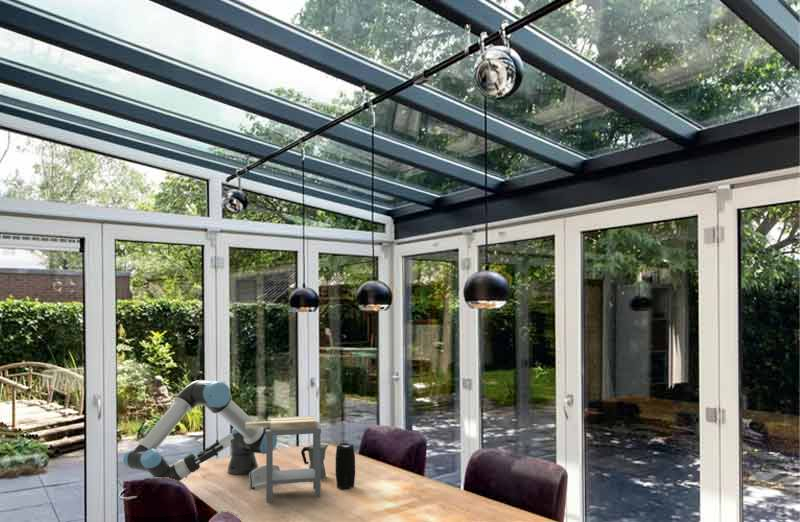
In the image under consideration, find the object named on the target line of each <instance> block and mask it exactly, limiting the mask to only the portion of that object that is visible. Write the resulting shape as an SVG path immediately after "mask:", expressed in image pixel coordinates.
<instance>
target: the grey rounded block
mask: <svg viewBox="0 0 800 522" xmlns="http://www.w3.org/2000/svg"><path fill="white" fill-rule="evenodd" d="M279 470H281V469H280V466H279V465H276V464H275V465H274V464H273V471H279ZM248 481H249V482H248V483H249V489H253V488H254V490H256V491H257V489H258V490H261V489H260V488H262V489H266V488H265V487H266V464H265V465H262V466H258V468H256V469H254V470H253V471H251V472H250V473H248ZM273 485H274V486H277V484H273Z"/></svg>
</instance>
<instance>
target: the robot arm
mask: <svg viewBox="0 0 800 522" xmlns="http://www.w3.org/2000/svg"><path fill="white" fill-rule="evenodd" d="M173 400H174V402H173V403H172V404H171V406H169V408H168V409H167V410H166V412H164V414H163V415H162V416H161V417H160V419H159V420H158V421H157V422H156V423H155V424H154V426H153V427H152V428H151V429H150V431H148V433H147V434H146V435H145V437H144V438H143V439H142V440H141V441H140V443H139V444H138V445H137V446H136V447H135V448H134V449H131V450H128V451H126V452H125V453H124V456H123V460H122V462H123V464H124V466H125V467H127V468H130V469H132V470H139V471H143V472H148V473H149V474H150V475H151V476H152V478H154V477H169V478H172V479H175V480H177V481H178V482H180V481H181V480H183V479H184V478H185V479H187V478H188V476H190V475H191V474H192V473H194V472H196V471H198V470H200V468H201V465H200V464H202V463H204V462H205V461H207V460H209V459H211V458H214V457H215V456H218V455H219V453H220V452H222V451H223V450H225V449H227V448H228V447H230V446H231V447H230V449H231V457H230V460H229V464H228V466H227V473H229V474H232V475H247V474H248V475H249V473H250V472H251V471H253V470H254V469H256V468H258V467H259V465H258V461H257V458H256V456H255V453H257V454H262V455H266V427H265V428H245V424H246V422H255V421H254V419H252V418H251V417H250V416H249V415H248V414H247V413H246V412H245V411H244V410H243V409H242V408H241V407H240V406H239V405H238V404H237V403H236V402H234V400H233V399H232V394H231V390H230V387H229V386H228V385H227V384H226V383H225V382H223V381H218V380H202V379H198V380H195V381H192V382H190V383H189V384H187V386H185V387H184V388H182V389H181V391H179V393H178V394H177V395H176V396H175V397H174V399H173ZM197 406H204V407H206V408H207V409H208V410H209V411H210V412H211V413H213V414H219V416H221V417H222V418H223V419H224V420H225V421H226V422H227V423H229V425H231V426H232V429H231V433H230V432H229V434H226V435H225V436H223V437H222V438H221V439H219V440H218V439H216V440H215V441H214V442H213V443H212V444H211V445H209V446H208V447H207V448H205V449H203V450H202V451H200V452H198V453H197V455H195V454H193V453H190V454H188V455H187V456H185V457H184V458H181V459H179V460H178V461H176V462H174V463H173V464H172V465H169V463H168V462H167V461H166V460H165V458H164V457H163V456H162V455H161V453H160V452H159V451H157V450H158V449H159V448H160V446H161V445H162V443H163V442H164V441H165V440H166V439H167V438H168V436H169V435H170V434H171V432H172V431H173V430H174V429H175V428H176V426H177V425H178V424H179V423H180V421H181V420H182V419H183V418H184V416H186V414H187V413H188V412H191V411H192V410H193V409H194V408H195V407H197ZM277 443H278V436H273V451H274V450H275V449H276V447H277V445H278V444H277Z"/></svg>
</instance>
